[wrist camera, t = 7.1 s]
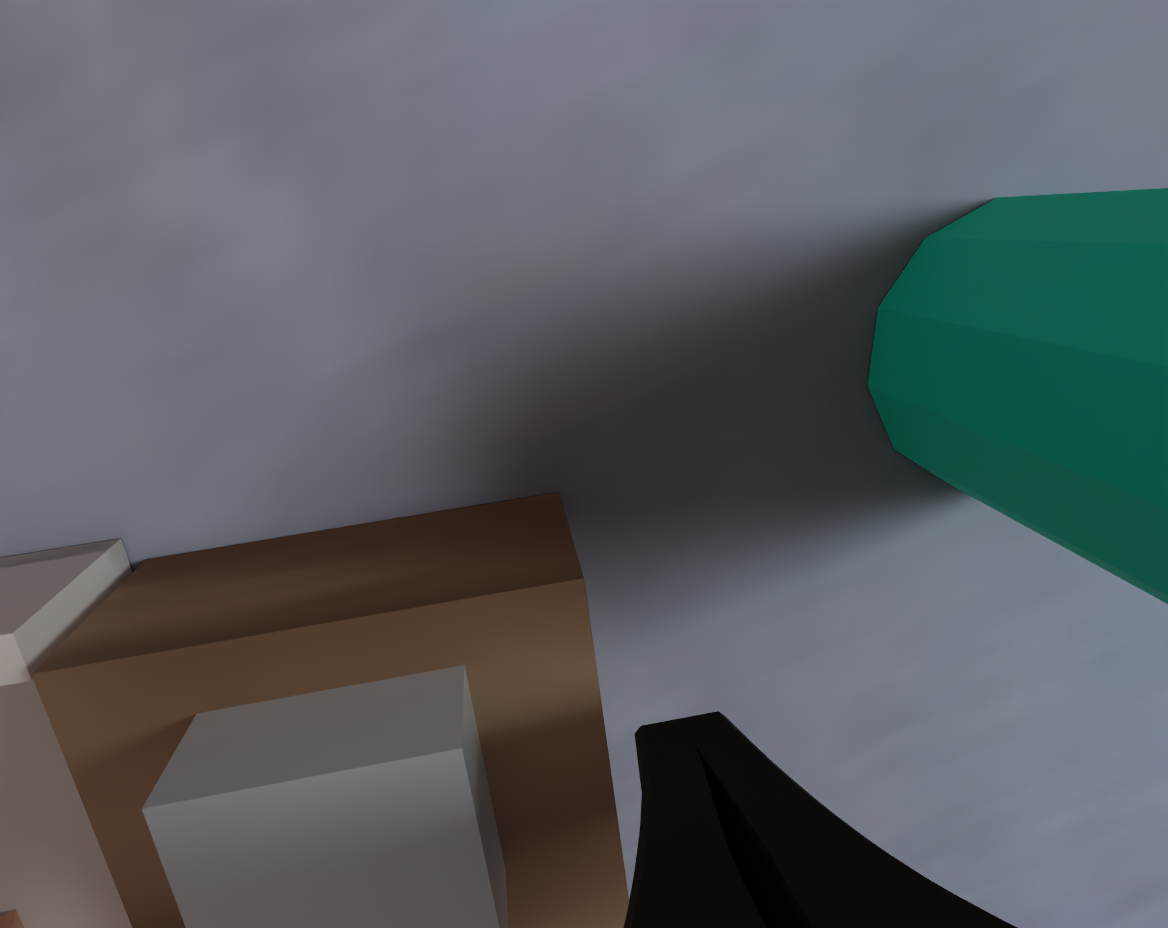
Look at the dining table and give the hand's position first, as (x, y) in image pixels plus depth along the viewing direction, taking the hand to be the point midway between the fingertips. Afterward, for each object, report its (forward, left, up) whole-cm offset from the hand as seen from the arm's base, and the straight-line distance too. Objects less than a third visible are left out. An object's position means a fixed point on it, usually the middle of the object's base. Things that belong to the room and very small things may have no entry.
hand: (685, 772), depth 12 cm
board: (-3, +5, -5) cm, 8 cm away
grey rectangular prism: (0, +5, -1) cm, 5 cm away
